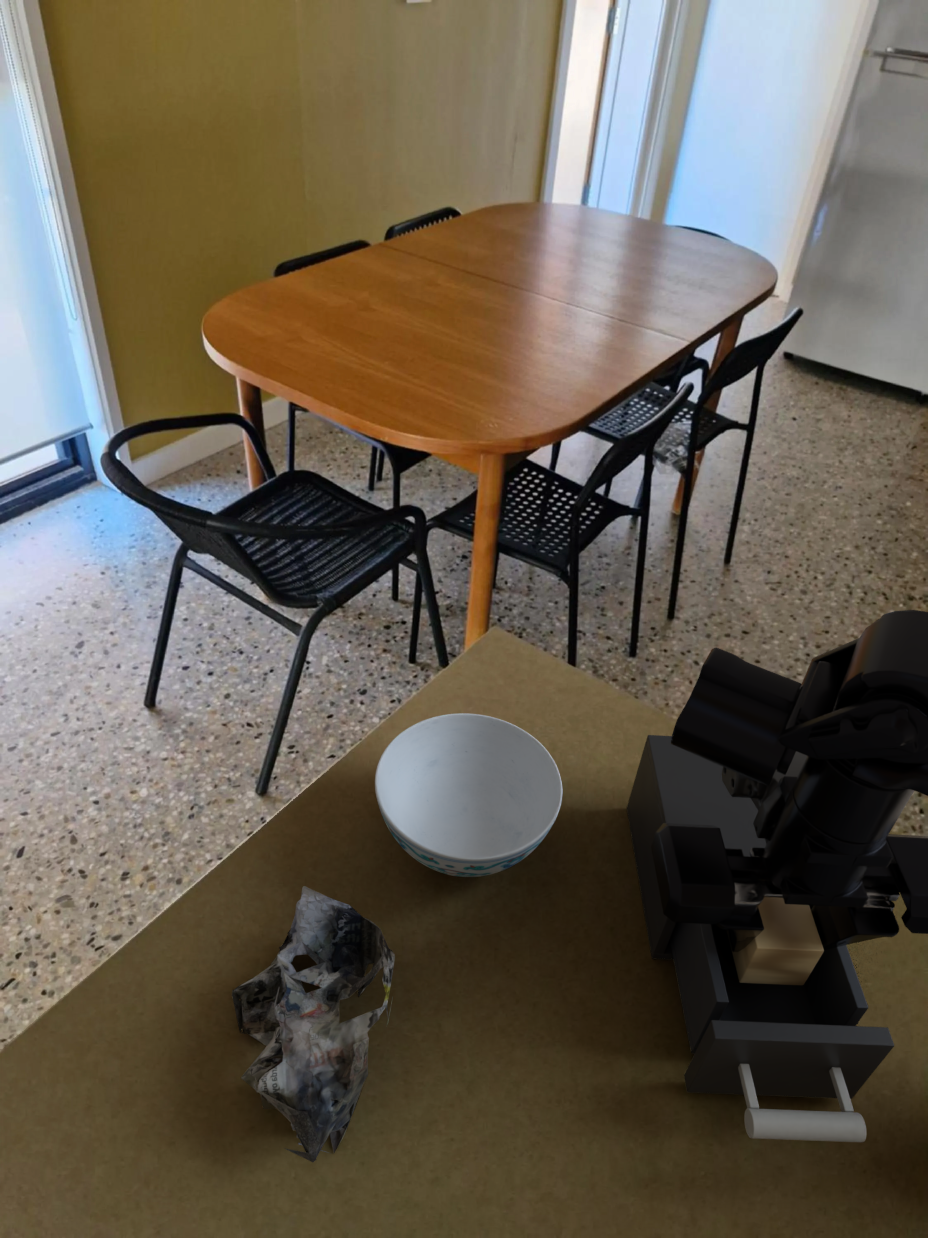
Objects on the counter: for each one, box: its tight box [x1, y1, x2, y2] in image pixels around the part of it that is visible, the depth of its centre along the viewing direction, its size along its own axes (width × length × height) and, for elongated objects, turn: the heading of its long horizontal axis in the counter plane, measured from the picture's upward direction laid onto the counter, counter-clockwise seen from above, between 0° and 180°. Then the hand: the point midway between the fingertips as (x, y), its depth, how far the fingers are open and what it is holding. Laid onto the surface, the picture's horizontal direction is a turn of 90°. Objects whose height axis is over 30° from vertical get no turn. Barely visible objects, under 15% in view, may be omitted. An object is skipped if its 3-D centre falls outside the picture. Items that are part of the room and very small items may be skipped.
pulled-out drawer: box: [670, 905, 895, 1143], centre depth 61 cm, size 18×11×8 cm, turn 179°
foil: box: [231, 885, 396, 1163], centre depth 60 cm, size 12×11×15 cm
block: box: [727, 897, 824, 985], centre depth 61 cm, size 4×4×4 cm
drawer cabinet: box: [626, 734, 766, 961], centre depth 71 cm, size 15×13×10 cm
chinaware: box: [374, 712, 563, 878], centre depth 73 cm, size 15×15×8 cm
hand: (767, 947), depth 62 cm, fingers closed on block, 4 cm apart
